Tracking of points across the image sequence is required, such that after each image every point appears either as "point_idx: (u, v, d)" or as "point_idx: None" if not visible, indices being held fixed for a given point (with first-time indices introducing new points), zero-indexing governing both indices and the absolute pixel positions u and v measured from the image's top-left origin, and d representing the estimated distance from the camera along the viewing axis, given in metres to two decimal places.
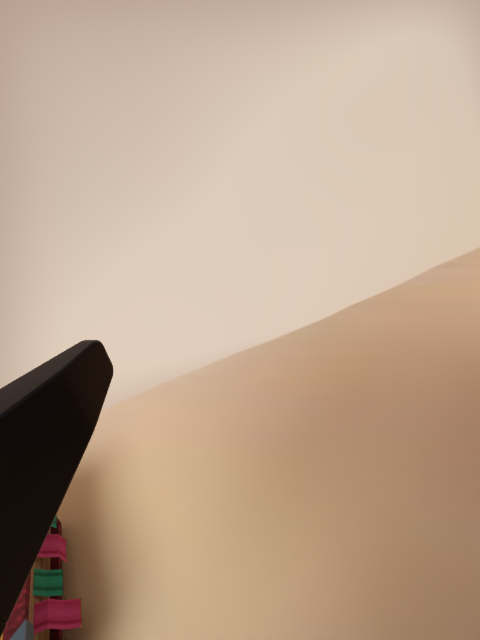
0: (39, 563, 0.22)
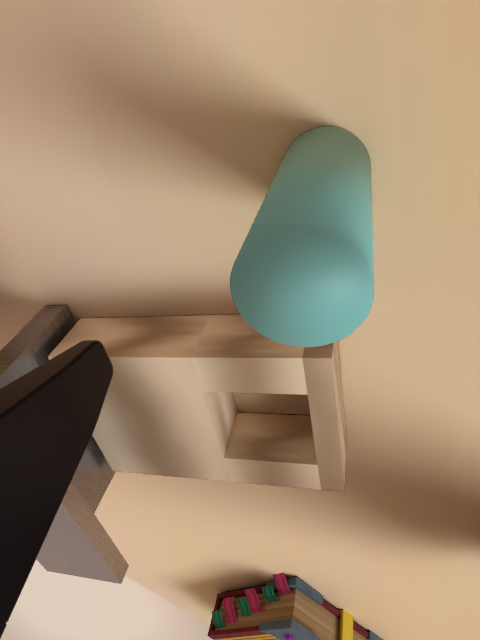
0: (238, 611, 0.43)
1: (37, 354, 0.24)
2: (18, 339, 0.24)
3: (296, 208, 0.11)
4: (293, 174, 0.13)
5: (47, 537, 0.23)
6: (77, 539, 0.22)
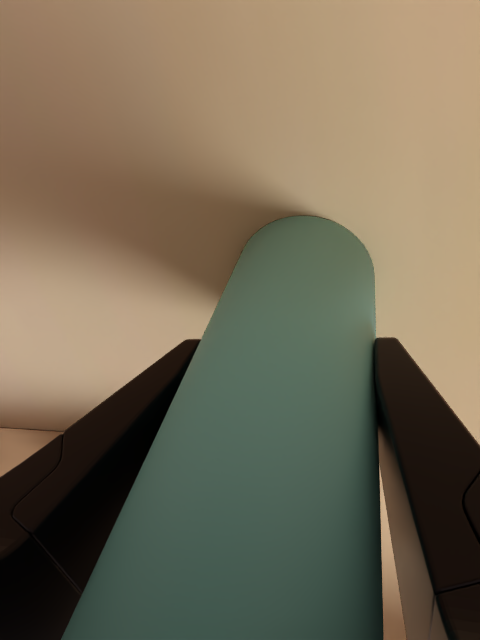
0: None
1: None
2: None
3: (198, 534, 0.05)
4: (227, 357, 0.07)
5: None
6: None
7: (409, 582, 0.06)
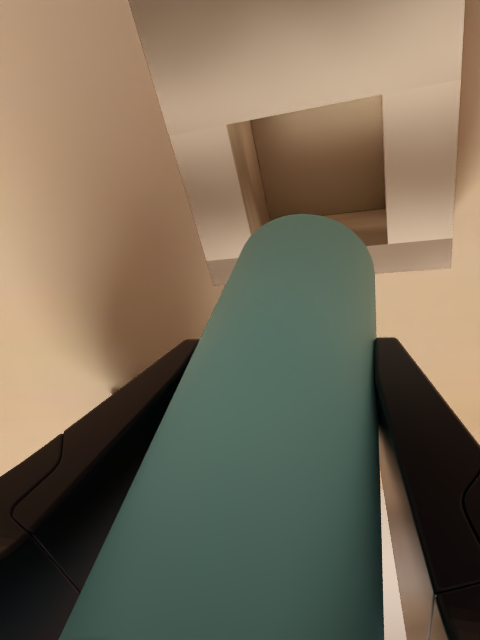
0: None
1: None
2: None
3: (198, 532, 0.04)
4: (226, 355, 0.07)
5: None
6: None
7: (409, 582, 0.06)
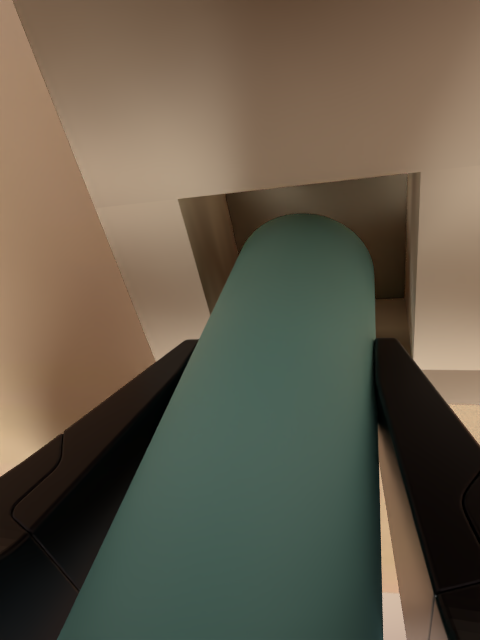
0: None
1: None
2: None
3: (196, 534, 0.04)
4: (225, 355, 0.07)
5: None
6: None
7: (409, 582, 0.06)
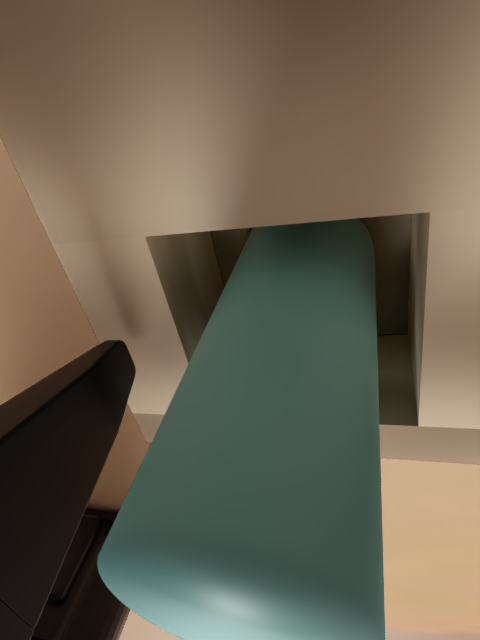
0: None
1: None
2: None
3: (224, 451, 0.05)
4: (241, 317, 0.08)
5: None
6: None
7: None
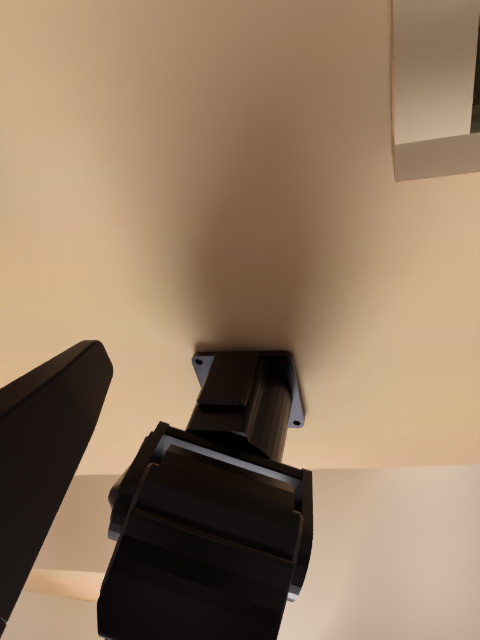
0: None
1: None
2: None
3: None
4: None
5: None
6: None
7: None
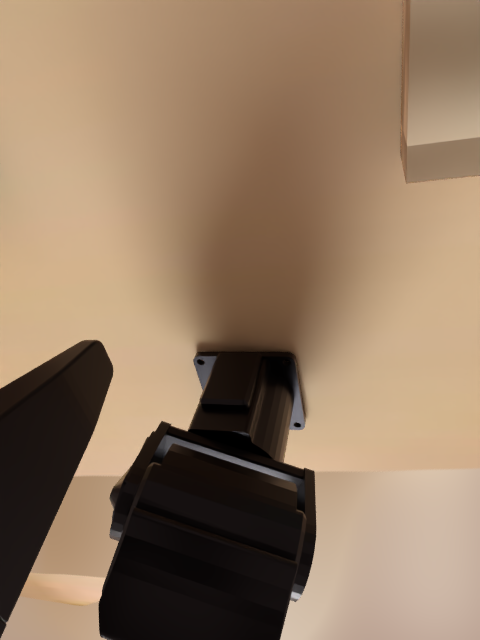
0: None
1: None
2: None
3: None
4: None
5: None
6: None
7: None
